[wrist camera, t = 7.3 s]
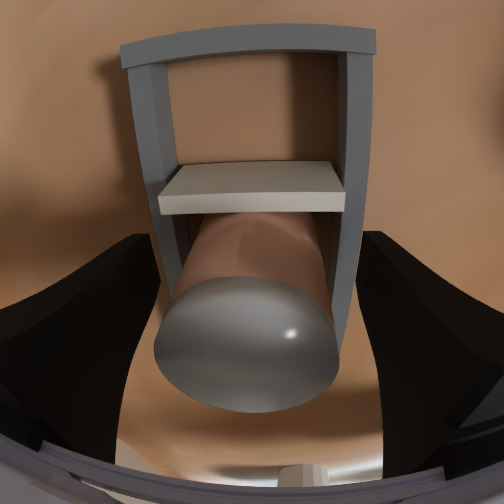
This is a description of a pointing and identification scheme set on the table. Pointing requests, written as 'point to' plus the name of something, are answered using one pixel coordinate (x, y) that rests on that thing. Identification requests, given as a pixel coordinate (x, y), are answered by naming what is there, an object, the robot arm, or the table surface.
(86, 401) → the robot arm
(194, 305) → the jar
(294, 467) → the beige cylinder
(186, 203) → the pusher plate
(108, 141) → the table surface
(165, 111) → the frame
